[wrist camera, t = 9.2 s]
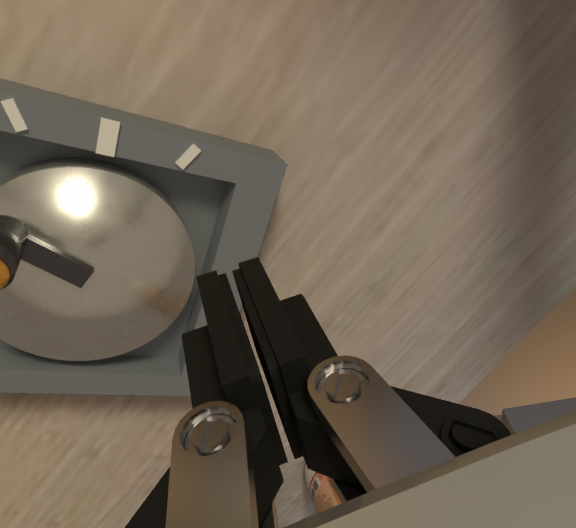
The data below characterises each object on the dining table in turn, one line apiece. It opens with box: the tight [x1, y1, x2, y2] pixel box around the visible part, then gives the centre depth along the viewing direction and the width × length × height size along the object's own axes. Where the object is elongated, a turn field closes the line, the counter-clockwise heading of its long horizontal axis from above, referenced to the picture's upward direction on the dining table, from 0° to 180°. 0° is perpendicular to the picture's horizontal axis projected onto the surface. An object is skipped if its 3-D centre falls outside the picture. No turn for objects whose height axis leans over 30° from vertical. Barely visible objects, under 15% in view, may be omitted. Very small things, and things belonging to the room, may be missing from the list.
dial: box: [0, 158, 195, 361], centre depth 28 cm, size 14×14×7 cm
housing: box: [0, 79, 287, 396], centre depth 31 cm, size 22×20×4 cm
